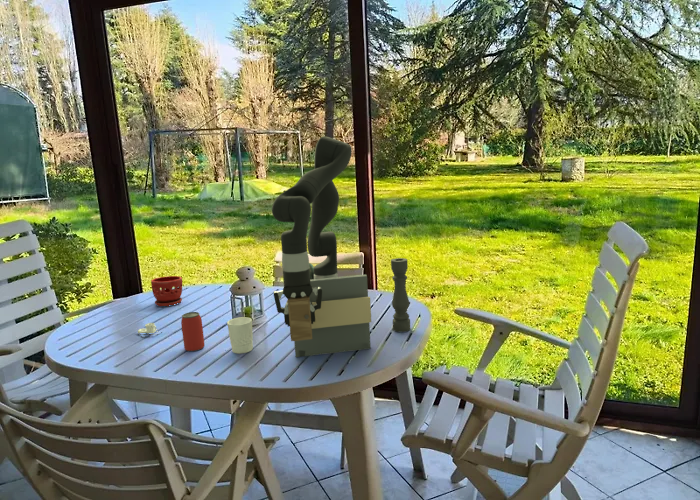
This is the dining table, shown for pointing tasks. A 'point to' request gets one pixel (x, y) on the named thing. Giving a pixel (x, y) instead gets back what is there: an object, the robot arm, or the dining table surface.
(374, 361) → the dining table surface
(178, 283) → the plant pot
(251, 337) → the white cup
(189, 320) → the beer can
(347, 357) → the dining table surface
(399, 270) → the candle holder
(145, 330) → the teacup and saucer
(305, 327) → the cabinet
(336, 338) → the wall board
